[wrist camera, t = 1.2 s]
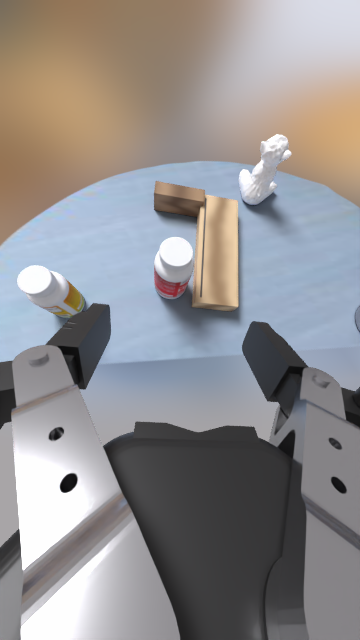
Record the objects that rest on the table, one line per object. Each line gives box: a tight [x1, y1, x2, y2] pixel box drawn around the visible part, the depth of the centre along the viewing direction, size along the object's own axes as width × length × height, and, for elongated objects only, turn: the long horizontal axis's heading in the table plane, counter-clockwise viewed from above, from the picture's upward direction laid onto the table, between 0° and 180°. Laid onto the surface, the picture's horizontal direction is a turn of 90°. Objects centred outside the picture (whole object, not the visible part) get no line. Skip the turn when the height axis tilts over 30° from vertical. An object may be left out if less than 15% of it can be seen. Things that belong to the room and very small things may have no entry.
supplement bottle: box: [17, 266, 85, 318], centre depth 28 cm, size 5×5×10 cm
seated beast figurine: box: [238, 134, 291, 205], centre depth 38 cm, size 10×9×12 cm
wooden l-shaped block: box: [154, 181, 238, 312], centre depth 36 cm, size 18×24×4 cm
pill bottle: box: [154, 237, 194, 299], centre depth 30 cm, size 6×6×11 cm
